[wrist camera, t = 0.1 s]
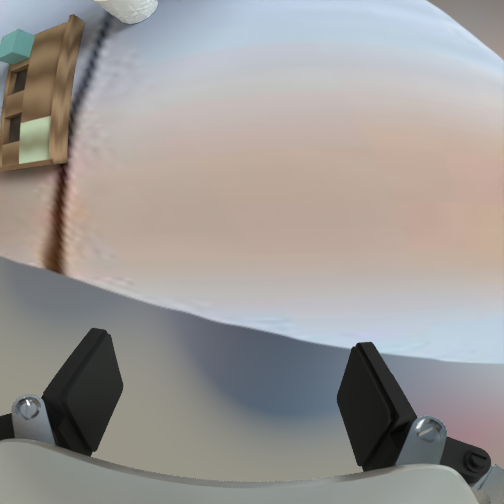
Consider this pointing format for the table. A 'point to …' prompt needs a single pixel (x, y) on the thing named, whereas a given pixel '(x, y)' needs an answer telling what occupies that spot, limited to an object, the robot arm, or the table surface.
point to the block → (16, 47)
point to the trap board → (40, 100)
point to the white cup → (129, 9)
